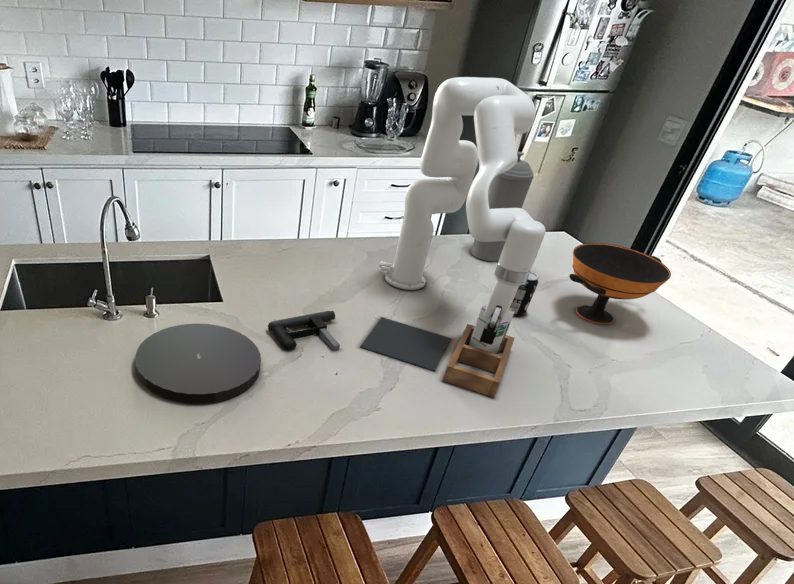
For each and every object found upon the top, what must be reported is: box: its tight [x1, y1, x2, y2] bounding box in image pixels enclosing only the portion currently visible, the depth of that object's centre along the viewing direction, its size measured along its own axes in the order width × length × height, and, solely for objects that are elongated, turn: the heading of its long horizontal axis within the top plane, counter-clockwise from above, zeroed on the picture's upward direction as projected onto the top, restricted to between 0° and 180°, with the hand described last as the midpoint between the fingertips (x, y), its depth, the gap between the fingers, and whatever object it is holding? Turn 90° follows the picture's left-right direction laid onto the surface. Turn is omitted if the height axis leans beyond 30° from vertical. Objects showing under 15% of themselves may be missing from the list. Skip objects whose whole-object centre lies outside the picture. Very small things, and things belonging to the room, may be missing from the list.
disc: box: [134, 323, 262, 404], centre depth 138 cm, size 30×30×3 cm
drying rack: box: [442, 323, 515, 398], centre depth 146 cm, size 12×24×4 cm, turn 152°
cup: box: [569, 242, 672, 325], centre depth 168 cm, size 36×26×18 cm
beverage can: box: [510, 271, 539, 317], centre depth 168 cm, size 7×7×12 cm
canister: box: [470, 151, 535, 262], centre depth 192 cm, size 13×13×35 cm
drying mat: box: [359, 316, 452, 372], centre depth 154 cm, size 20×18×1 cm
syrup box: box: [468, 303, 514, 355], centre depth 147 cm, size 6×6×14 cm
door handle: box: [267, 310, 341, 352], centre depth 152 cm, size 3×20×16 cm
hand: (488, 334), depth 147 cm, fingers closed on syrup box, 7 cm apart
